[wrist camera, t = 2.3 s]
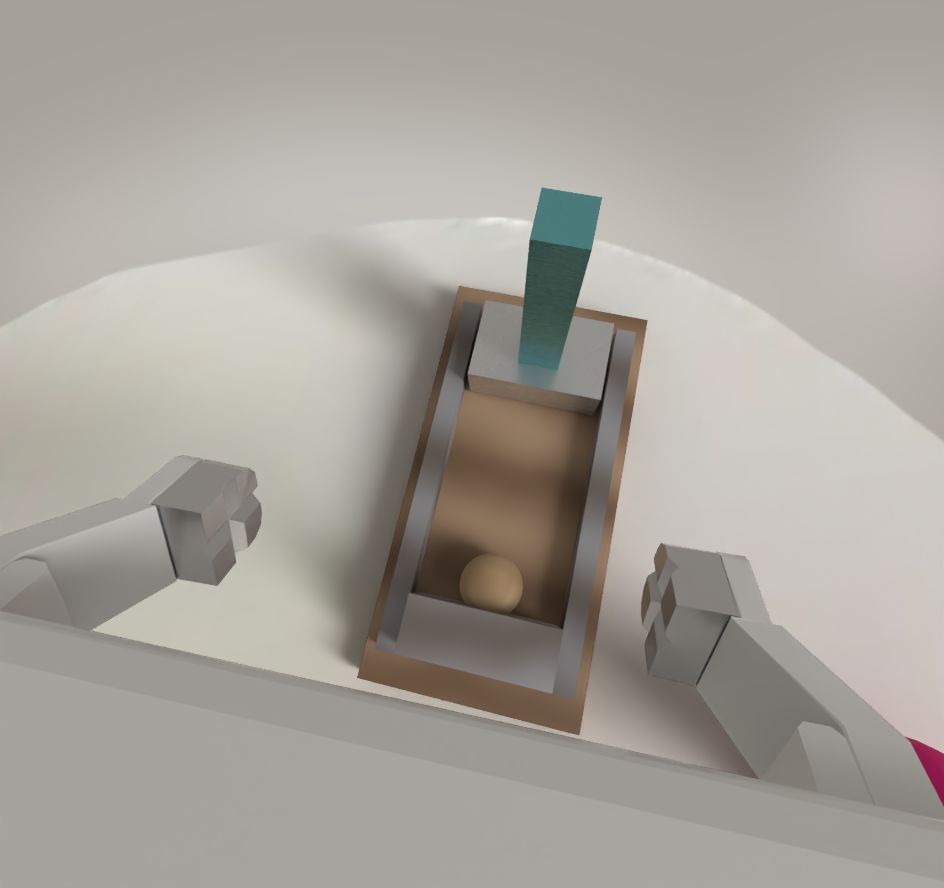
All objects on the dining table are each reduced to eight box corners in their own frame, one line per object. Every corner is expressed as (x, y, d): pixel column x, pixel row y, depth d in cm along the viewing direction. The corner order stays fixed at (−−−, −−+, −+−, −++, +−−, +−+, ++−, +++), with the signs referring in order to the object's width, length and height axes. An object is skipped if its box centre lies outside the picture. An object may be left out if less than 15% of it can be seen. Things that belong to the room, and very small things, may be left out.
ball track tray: (574, 726, 32) (594, 763, 26) (365, 672, 34) (332, 693, 27) (639, 333, 39) (670, 279, 32) (461, 300, 40) (454, 242, 33)
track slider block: (592, 415, 35) (660, 292, 20) (470, 390, 36) (451, 255, 21) (605, 344, 36) (678, 181, 21) (486, 322, 37) (480, 150, 22)
